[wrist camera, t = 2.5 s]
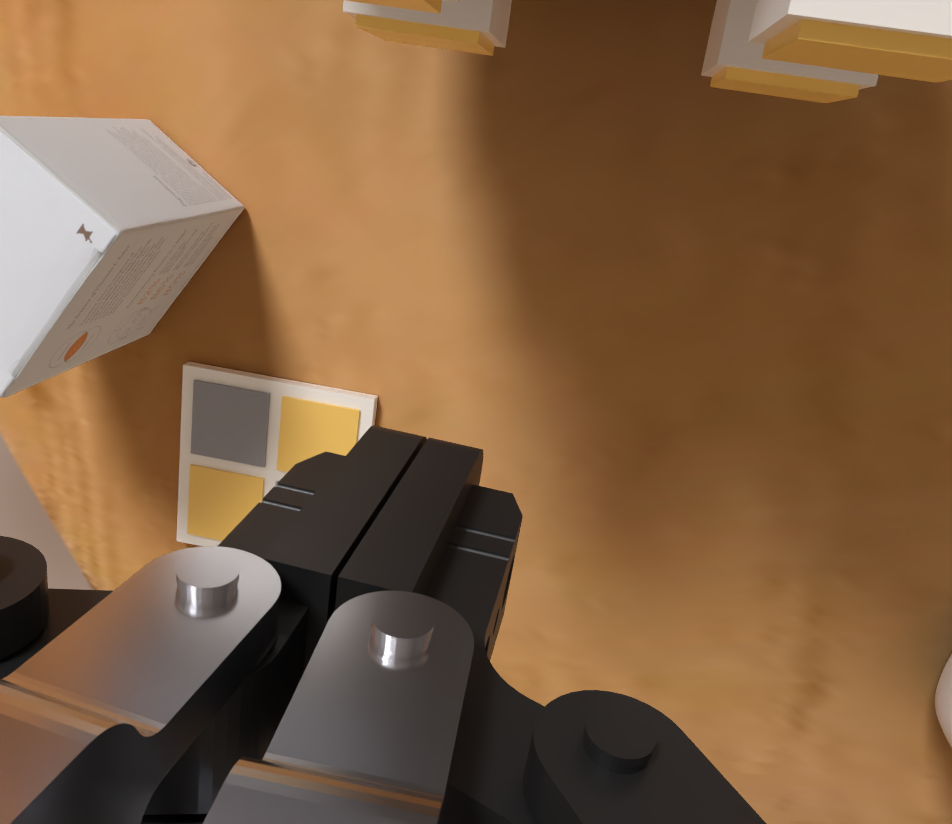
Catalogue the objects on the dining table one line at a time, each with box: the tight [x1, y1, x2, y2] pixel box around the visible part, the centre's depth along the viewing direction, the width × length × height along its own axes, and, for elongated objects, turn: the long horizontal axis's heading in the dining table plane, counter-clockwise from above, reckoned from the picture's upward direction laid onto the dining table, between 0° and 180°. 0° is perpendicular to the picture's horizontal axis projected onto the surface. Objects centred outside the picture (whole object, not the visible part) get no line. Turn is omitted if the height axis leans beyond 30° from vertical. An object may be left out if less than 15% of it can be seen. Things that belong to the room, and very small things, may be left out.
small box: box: [0, 116, 244, 397], centre depth 33 cm, size 8×6×10 cm
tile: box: [177, 362, 378, 547], centre depth 41 cm, size 9×9×1 cm
